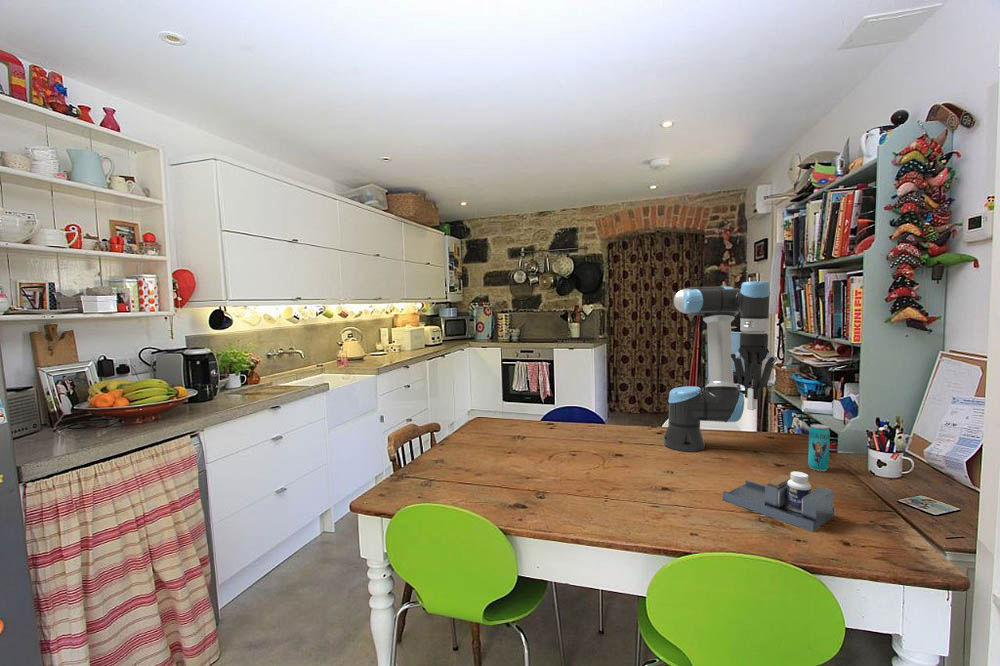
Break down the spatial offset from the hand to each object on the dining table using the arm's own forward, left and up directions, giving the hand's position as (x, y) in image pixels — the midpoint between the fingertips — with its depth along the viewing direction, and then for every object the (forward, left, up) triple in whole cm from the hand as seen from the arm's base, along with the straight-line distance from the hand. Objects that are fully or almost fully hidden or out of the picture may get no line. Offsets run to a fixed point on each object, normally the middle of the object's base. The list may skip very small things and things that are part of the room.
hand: (751, 409), depth 140 cm
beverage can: (+7, +33, -25) cm, 42 cm away
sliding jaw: (+13, -9, -23) cm, 27 cm away
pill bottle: (+17, -9, -23) cm, 30 cm away
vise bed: (+12, -9, -24) cm, 28 cm away
